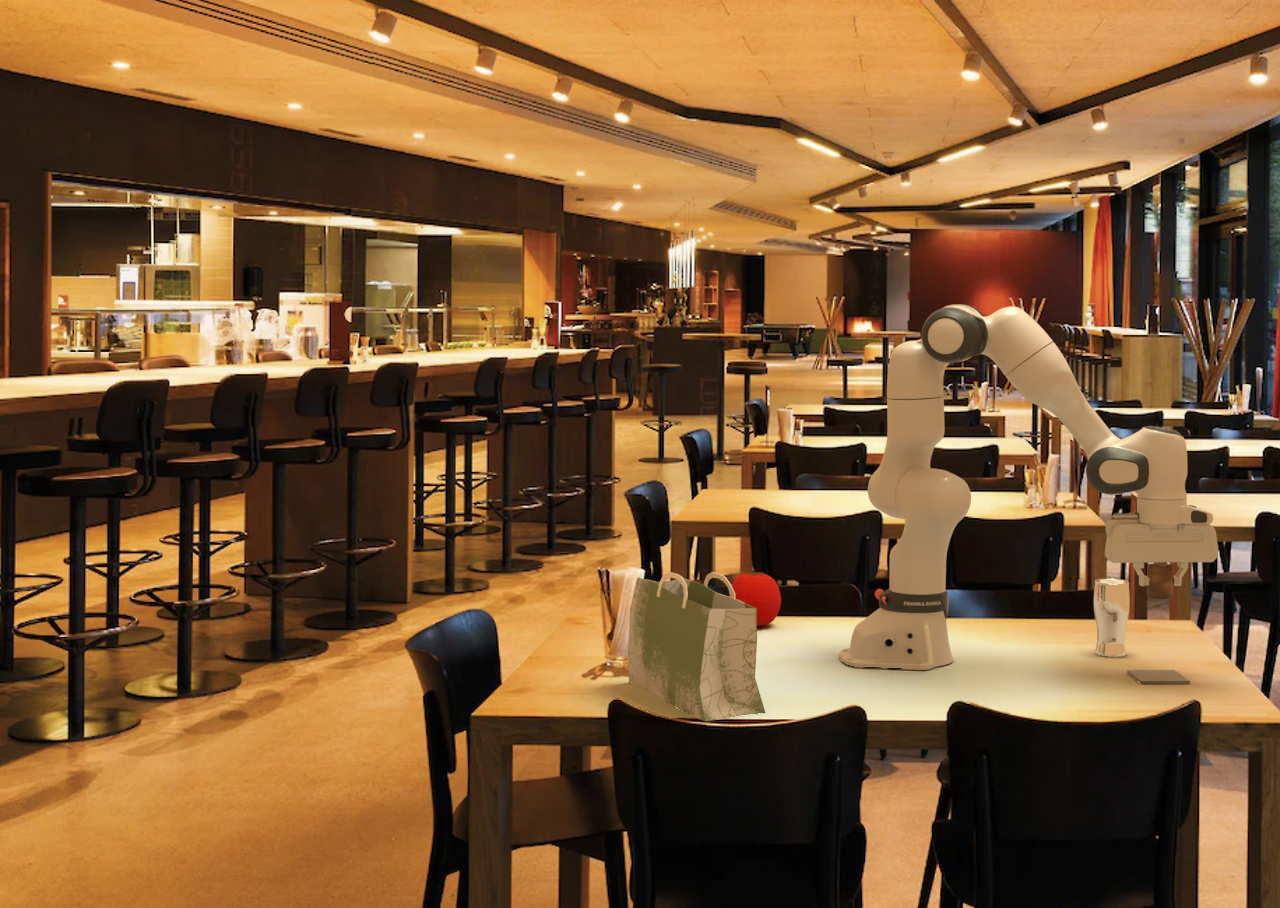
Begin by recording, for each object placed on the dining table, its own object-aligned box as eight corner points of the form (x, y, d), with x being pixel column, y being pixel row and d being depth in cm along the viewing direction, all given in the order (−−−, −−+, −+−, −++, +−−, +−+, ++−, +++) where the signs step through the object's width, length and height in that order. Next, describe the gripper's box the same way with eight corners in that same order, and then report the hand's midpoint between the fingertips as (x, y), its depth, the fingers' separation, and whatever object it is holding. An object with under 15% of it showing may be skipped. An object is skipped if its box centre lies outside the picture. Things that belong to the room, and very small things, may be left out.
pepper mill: (1151, 599, 282) (1152, 560, 282) (1143, 594, 287) (1144, 556, 286) (1176, 599, 282) (1176, 560, 282) (1168, 594, 287) (1169, 555, 286)
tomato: (746, 619, 346) (746, 564, 345) (790, 624, 339) (790, 569, 338) (717, 628, 336) (716, 572, 335) (762, 634, 329) (762, 577, 328)
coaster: (1141, 684, 282) (1141, 681, 282) (1127, 673, 291) (1127, 669, 291) (1189, 684, 281) (1190, 680, 281) (1174, 672, 290) (1174, 669, 290)
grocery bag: (772, 713, 264) (772, 581, 262) (701, 722, 258) (700, 588, 256) (689, 674, 293) (689, 556, 291) (624, 682, 287) (623, 561, 285)
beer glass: (1130, 658, 303) (1131, 584, 302) (1094, 657, 304) (1095, 583, 303) (1126, 651, 310) (1127, 578, 308) (1091, 649, 311) (1092, 577, 310)
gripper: (1110, 515, 280) (1109, 589, 282) (1221, 514, 280) (1220, 588, 281) (1101, 511, 287) (1099, 583, 288) (1209, 510, 286) (1208, 582, 287)
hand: (1160, 585), depth 284 cm, fingers closed on pepper mill, 5 cm apart
